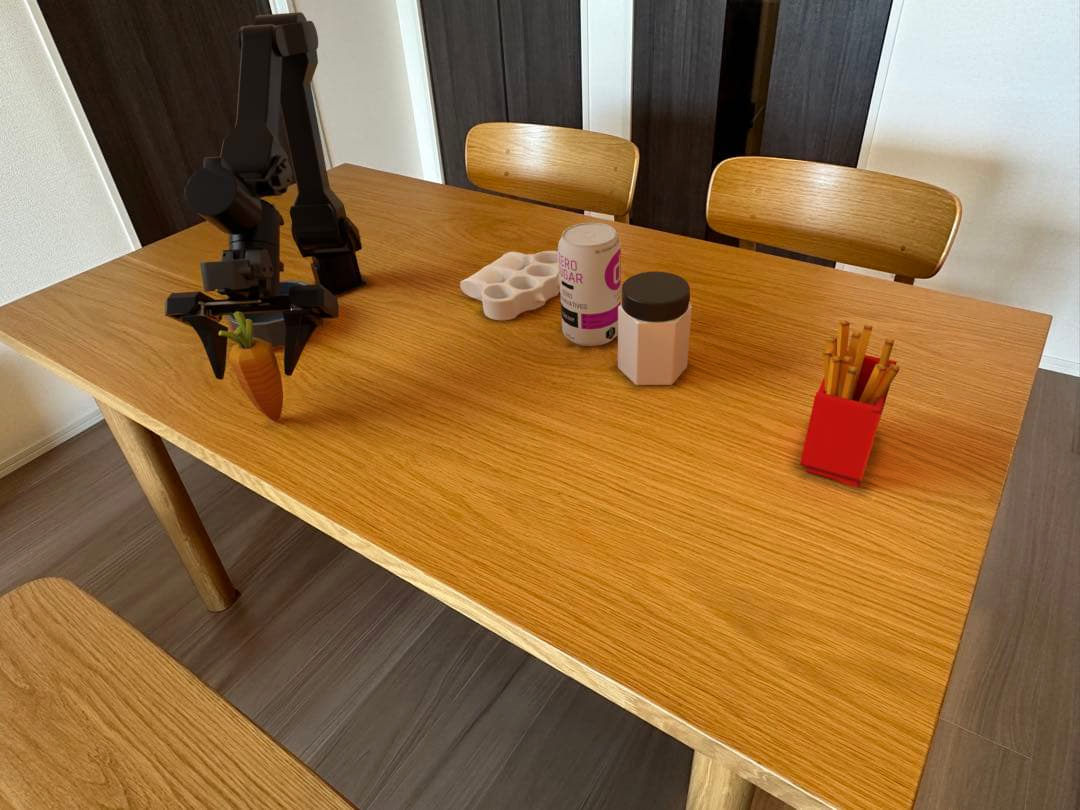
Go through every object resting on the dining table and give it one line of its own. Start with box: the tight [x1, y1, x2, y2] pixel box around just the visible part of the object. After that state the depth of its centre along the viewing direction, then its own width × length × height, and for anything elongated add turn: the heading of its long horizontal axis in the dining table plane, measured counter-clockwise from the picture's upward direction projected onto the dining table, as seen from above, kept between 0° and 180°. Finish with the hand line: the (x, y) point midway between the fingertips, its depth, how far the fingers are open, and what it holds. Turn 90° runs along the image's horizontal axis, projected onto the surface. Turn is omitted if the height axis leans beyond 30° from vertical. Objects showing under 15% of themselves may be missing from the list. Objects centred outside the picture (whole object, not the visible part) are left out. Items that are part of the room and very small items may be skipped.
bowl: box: [224, 279, 324, 348], centre depth 104 cm, size 13×13×4 cm
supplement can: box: [557, 222, 622, 347], centre depth 94 cm, size 8×8×15 cm
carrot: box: [219, 312, 284, 422], centre depth 82 cm, size 5×5×15 cm
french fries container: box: [799, 320, 901, 489], centre depth 72 cm, size 7×9×14 cm
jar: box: [617, 270, 693, 386], centre depth 87 cm, size 9×8×12 cm
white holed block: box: [459, 250, 560, 322], centre depth 108 cm, size 3×18×15 cm
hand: (253, 377), depth 81 cm, fingers open, 8 cm apart
